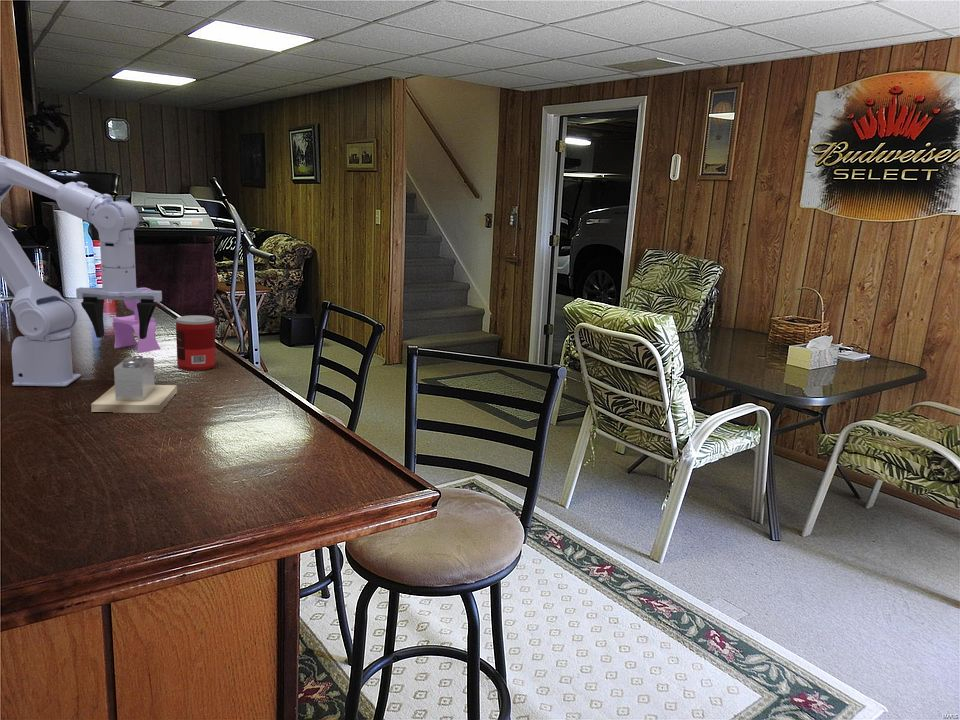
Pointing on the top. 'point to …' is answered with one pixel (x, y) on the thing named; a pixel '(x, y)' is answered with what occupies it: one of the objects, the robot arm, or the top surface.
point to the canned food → (195, 342)
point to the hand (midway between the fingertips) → (121, 337)
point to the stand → (149, 405)
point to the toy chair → (130, 323)
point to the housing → (134, 379)
